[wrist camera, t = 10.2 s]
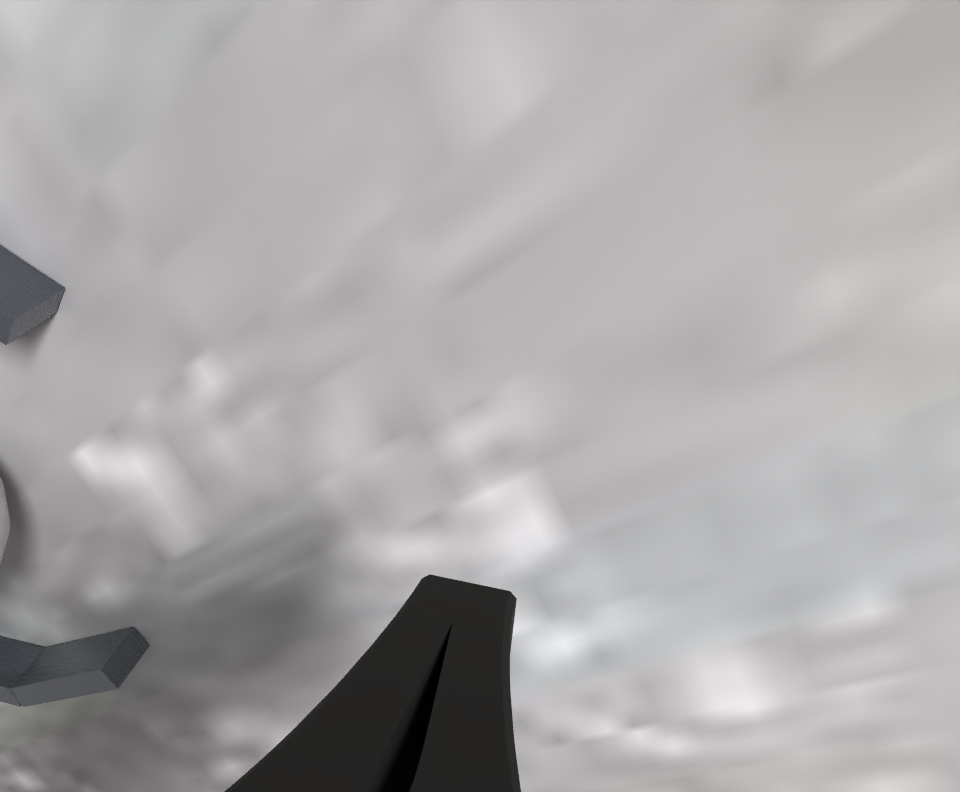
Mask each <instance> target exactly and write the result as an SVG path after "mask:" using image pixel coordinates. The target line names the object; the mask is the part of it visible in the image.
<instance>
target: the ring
mask: <svg viewBox="0 0 960 792" xmlns="http://www.w3.org/2000/svg"><path fill="white" fill-rule="evenodd" d="M64 290H65V288H64V287H63V286H61V285H60V284H58V283H57V282H55V281H54V280H52V279H51V278H49V277H48V276H46V275H45V274H43V273H42V272H40V271H39V270H37V269H36V268H34V267H33V266H31V265H30V264H28V263H26V262H25V261H23V260H22V259H20V258H19V257H17V256H16V255H14V254H13V253H11V252H10V251H8V250H7V249H5V248H4V247H2V246H1V245H0V342H2V343H4V344H5V345H7V344H9V343H10V342H12V341H13V340H15V339H16V338H18V337H20V336H21V335H23V334H24V333H26V332H27V331H29V330H31V329H32V328H34V327H35V326H37V325H38V324H40V323H42V322H43V321H45V320H46V319H48V318H49V317H51V316H53V315H54V314H56V312H57V309H58V306H59V304H60V301H61V298H62V295H63V293H64ZM148 647H149V645H148V643H147V642H146V641H145V640H144V639H143V638H142V636H141V635H140V634H139V633H138V632H137V631H136V629H135V628H134V627H131V628H127V629H123V630H119V631H114V632H110V633H106V634H101V635H97V636H93V637H88V638H84V639H80V640H75V641H71V642H67V643H63V644H58V645H54V646H50V647H41V646H37V645H33V644H29V643H25V642H20V641H16V640H12V639H8V638H4V637H0V701H1V702H5V703H9V704H13V705H17V706H20V707H21V705H23V707H25V706H30V705H35V704H41V703H46V702H51V701H56V700H62V699H67V698H72V697H77V696H83V695H88V694H93V693H98V692H104V691H109V690H114V689H118V688H119V686H120V685H121V684H122V682H123V681H124V680H125V678H126V677H127V676H128V674H129V673H130V671H131V670H132V669H133V667H134V666H135V665H136V663H137V662H138V661H139V659H140V658H141V656H142V655H143V654H144V652H145V651H146V650H147V648H148Z"/></svg>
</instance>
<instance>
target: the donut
mask: <svg viewBox="0 0 960 792" xmlns="http://www.w3.org/2000/svg"><path fill="white" fill-rule="evenodd" d="M9 533H10V518H9V512H8V506H7V501H6V495H5V489H4V484H3V481H2V479H1V478H0V565H1V562H2V558H3V555H4V551H5V547H6V544H7V540H8V536H9Z"/></svg>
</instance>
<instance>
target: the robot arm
mask: <svg viewBox="0 0 960 792" xmlns="http://www.w3.org/2000/svg"><path fill="white" fill-rule="evenodd" d="M515 608H516V598H515V596H514V595H513V594H512V593H511V592H510V591H506V590H502V589H497V588H492V587H487V586H482V585H477V584H473V583H468V582H463V581H458V580H453V579H449V578H444V577H439V576H434V575H428V576H426V577H424V578H422V579H421V581H420V582H419V584H418V585H417V587H416V588H415V590H414V591H413V593H412V594H411V596H410V597H409V598H408V600H407V601H406V603H405V604H404V605H403V607H402V608H401V609H400V611H399V612H398V613H397V615H396V616H395V617H394V618H393V620H392V621H391V622H390V624H389V625H388V626H387V627H386V628H385V630H384V631H383V632H382V633H381V635H380V636H379V637H378V638H377V640H376V641H375V642H374V643H373V644H372V646H371V647H370V648H369V649H368V650H367V651H366V652H365V654H364V655H363V656H362V657H361V658H360V659H359V660H358V662H357V663H356V664H355V665H354V666H353V667H352V668H351V670H350V671H349V672H348V673H347V674H346V675H345V676H344V678H343V679H342V680H341V681H340V682H339V683H338V684H337V685H336V686H335V687H334V689H333V690H332V691H331V692H330V693H329V694H328V695H327V696H326V697H325V698H324V699H323V700H322V701H321V702H320V703H319V704H318V705H317V706H316V707H315V708H314V709H313V710H312V711H311V712H310V713H309V714H308V715H307V716H306V717H305V718H304V719H303V720H302V721H301V722H300V723H299V724H298V725H297V727H296V728H295V729H293V730H292V731H291V732H290V733H289V734H288V735H287V736H286V737H285V738H284V739H283V740H282V741H281V742H280V743H279V744H278V745H277V746H276V747H275V748H274V749H272V750H271V751H270V752H269V753H268V754H267V755H266V756H265V757H264V758H263V759H262V760H260V761H259V762H258V763H257V764H256V765H255V766H254V767H253V768H251V769H250V770H249V771H248V772H247V773H246V774H245V775H243V776H242V777H241V778H240V779H239V780H238V781H237V782H235V783H234V784H233V785H232V786H231V787H230V788H228V789H227V790H226V791H225V792H521V789H520V782H519V774H518V767H517V760H516V752H515V743H514V734H513V721H512V708H511V694H510V649H511V641H512V633H513V624H514V616H515Z"/></svg>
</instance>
